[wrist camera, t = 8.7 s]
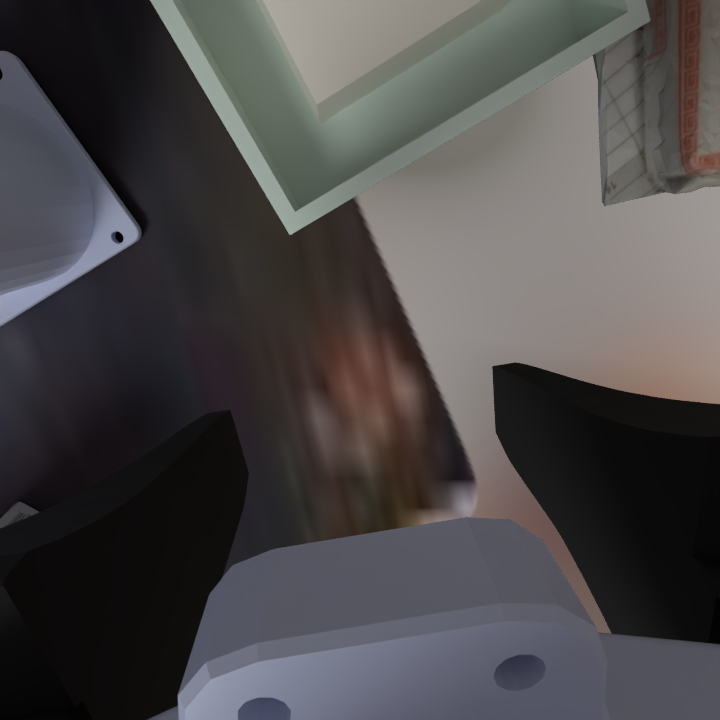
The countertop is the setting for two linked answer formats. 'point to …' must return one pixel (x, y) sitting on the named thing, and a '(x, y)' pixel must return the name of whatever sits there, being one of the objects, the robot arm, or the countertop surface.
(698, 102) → the packaged product
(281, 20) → the white box
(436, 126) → the box
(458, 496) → the countertop surface
